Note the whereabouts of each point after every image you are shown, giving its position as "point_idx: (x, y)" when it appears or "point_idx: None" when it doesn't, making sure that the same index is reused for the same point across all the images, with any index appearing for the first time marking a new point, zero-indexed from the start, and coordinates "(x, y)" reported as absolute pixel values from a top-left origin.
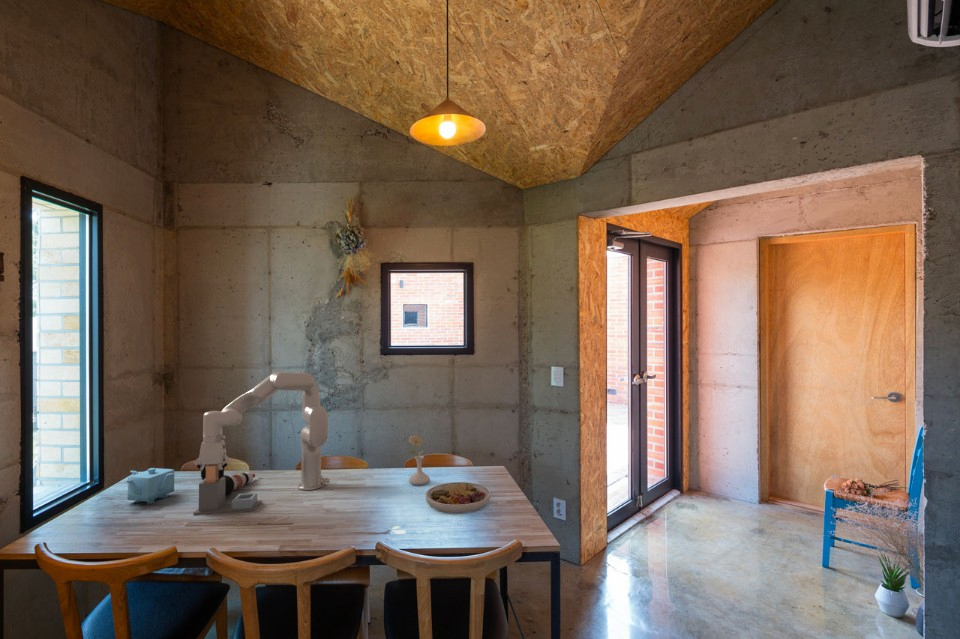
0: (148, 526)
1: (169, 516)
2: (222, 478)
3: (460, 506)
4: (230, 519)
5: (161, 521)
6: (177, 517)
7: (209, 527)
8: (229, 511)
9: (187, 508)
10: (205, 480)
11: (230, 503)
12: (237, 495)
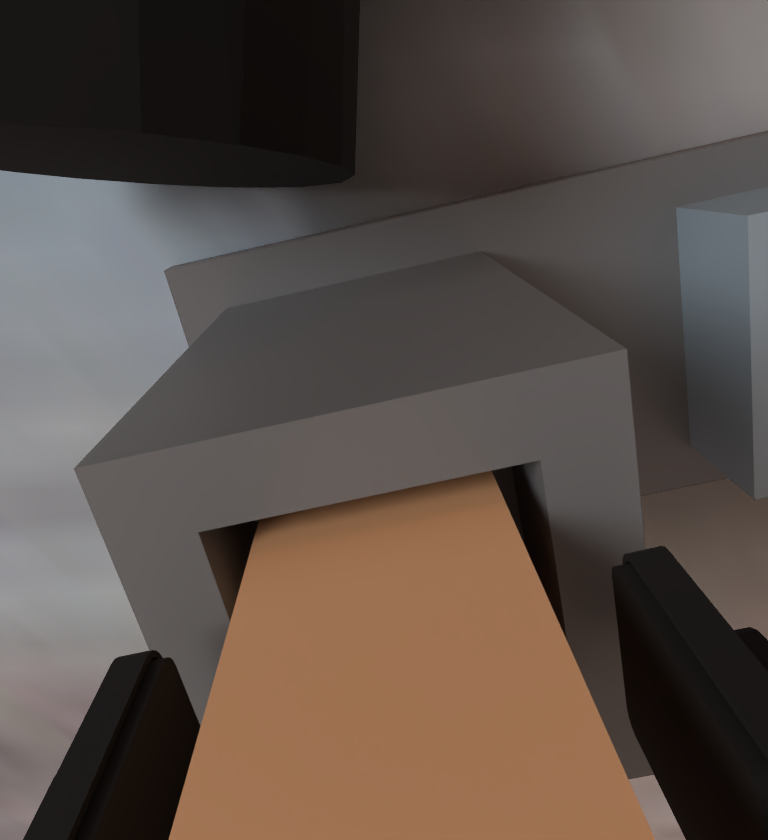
0: (31, 806)
1: (14, 605)
2: (592, 463)
3: None
4: (752, 626)
5: (50, 713)
6: (132, 621)
7: (632, 782)
8: (669, 485)
9: (12, 375)
10: (194, 639)
11: (563, 253)
12: (749, 296)
